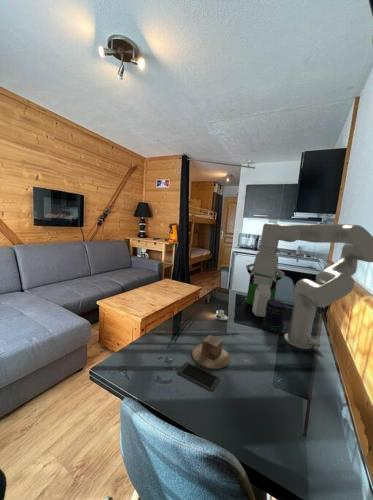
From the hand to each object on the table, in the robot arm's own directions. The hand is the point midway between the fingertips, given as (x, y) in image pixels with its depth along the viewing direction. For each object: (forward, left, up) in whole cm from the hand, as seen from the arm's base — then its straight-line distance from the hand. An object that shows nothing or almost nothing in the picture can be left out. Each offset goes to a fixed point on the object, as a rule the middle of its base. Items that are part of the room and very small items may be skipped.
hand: (261, 286), depth 101 cm
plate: (+9, +27, -26) cm, 39 cm away
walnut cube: (+9, +27, -25) cm, 38 cm away
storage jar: (-5, -18, -26) cm, 32 cm away
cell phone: (+7, +40, -27) cm, 49 cm away
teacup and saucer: (+22, -7, -27) cm, 36 cm away
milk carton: (+6, -33, -26) cm, 43 cm away
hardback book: (+11, -51, -26) cm, 59 cm away
